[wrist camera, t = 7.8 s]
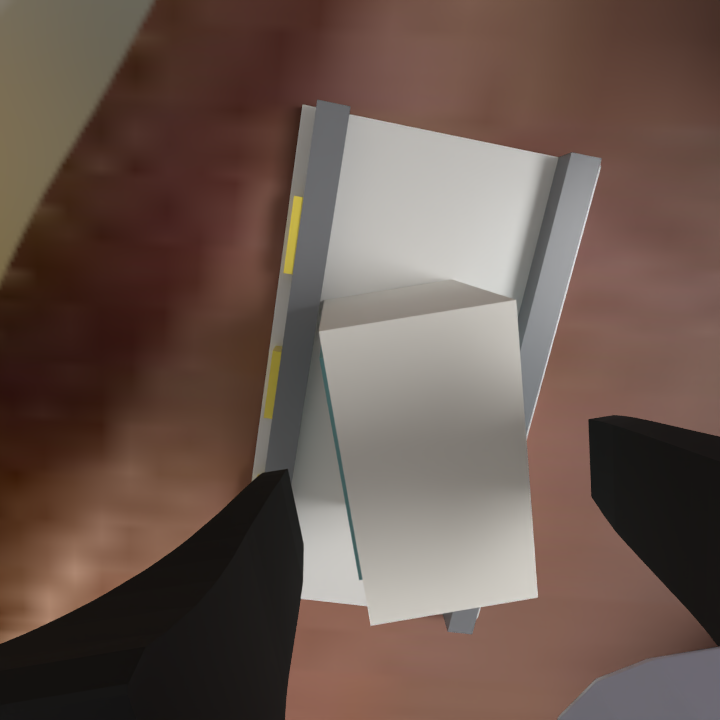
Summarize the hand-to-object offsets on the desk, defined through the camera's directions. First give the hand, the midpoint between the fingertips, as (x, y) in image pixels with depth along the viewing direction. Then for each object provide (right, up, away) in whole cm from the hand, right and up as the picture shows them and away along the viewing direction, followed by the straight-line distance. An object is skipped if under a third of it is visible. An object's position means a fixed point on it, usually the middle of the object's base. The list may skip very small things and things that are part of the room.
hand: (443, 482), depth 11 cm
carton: (0, +2, +6) cm, 7 cm away
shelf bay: (0, +2, +7) cm, 7 cm away
